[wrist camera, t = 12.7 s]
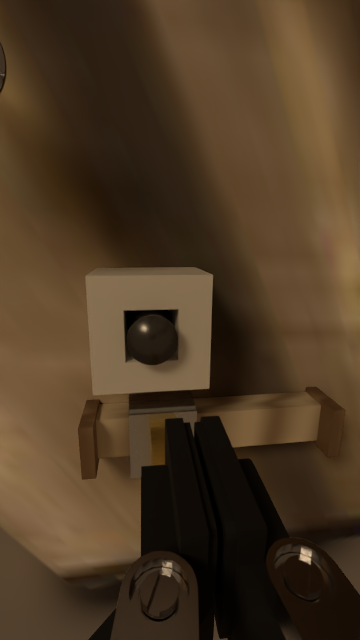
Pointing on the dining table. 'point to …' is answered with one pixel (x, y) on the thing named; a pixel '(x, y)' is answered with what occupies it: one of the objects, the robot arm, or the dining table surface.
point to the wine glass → (2, 67)
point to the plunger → (151, 337)
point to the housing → (149, 294)
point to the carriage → (155, 425)
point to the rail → (237, 418)
